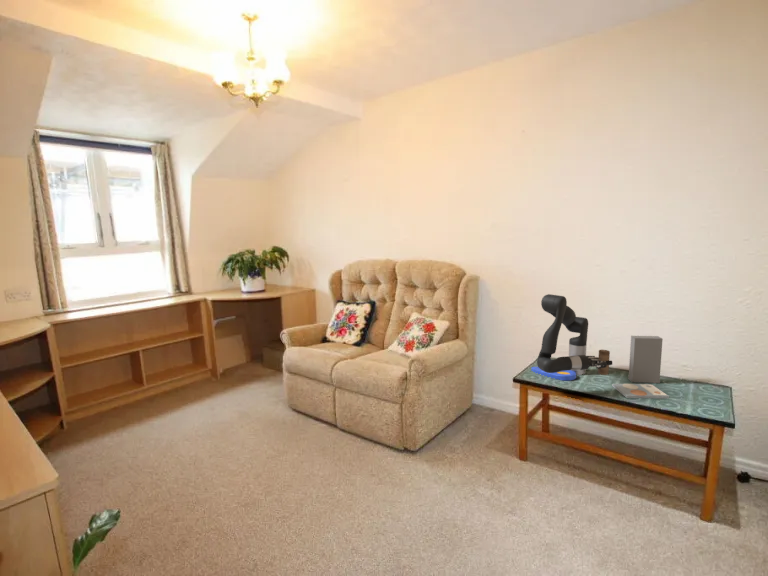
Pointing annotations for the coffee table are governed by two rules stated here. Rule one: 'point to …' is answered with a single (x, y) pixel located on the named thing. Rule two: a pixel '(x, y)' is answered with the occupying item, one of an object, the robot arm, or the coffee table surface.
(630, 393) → the board
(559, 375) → the location marker
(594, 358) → the robot arm
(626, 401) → the coffee table surface
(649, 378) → the tall grey upright box
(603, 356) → the brown upright cylinder
